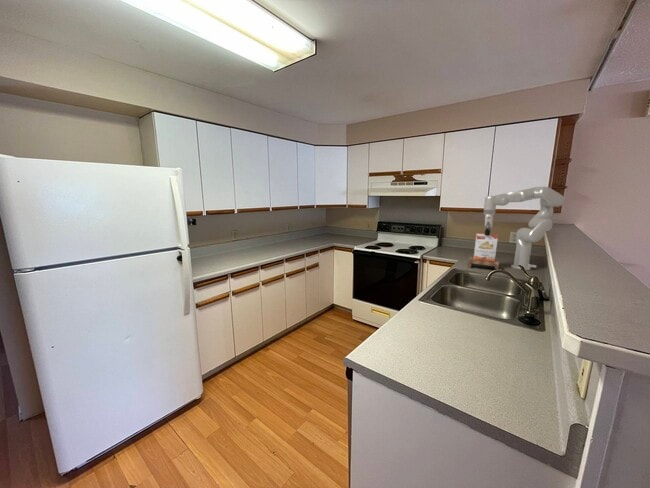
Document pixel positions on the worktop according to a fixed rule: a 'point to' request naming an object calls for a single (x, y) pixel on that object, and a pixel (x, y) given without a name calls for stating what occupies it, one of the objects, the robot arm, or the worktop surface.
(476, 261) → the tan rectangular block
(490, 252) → the cracker box
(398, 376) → the worktop surface
